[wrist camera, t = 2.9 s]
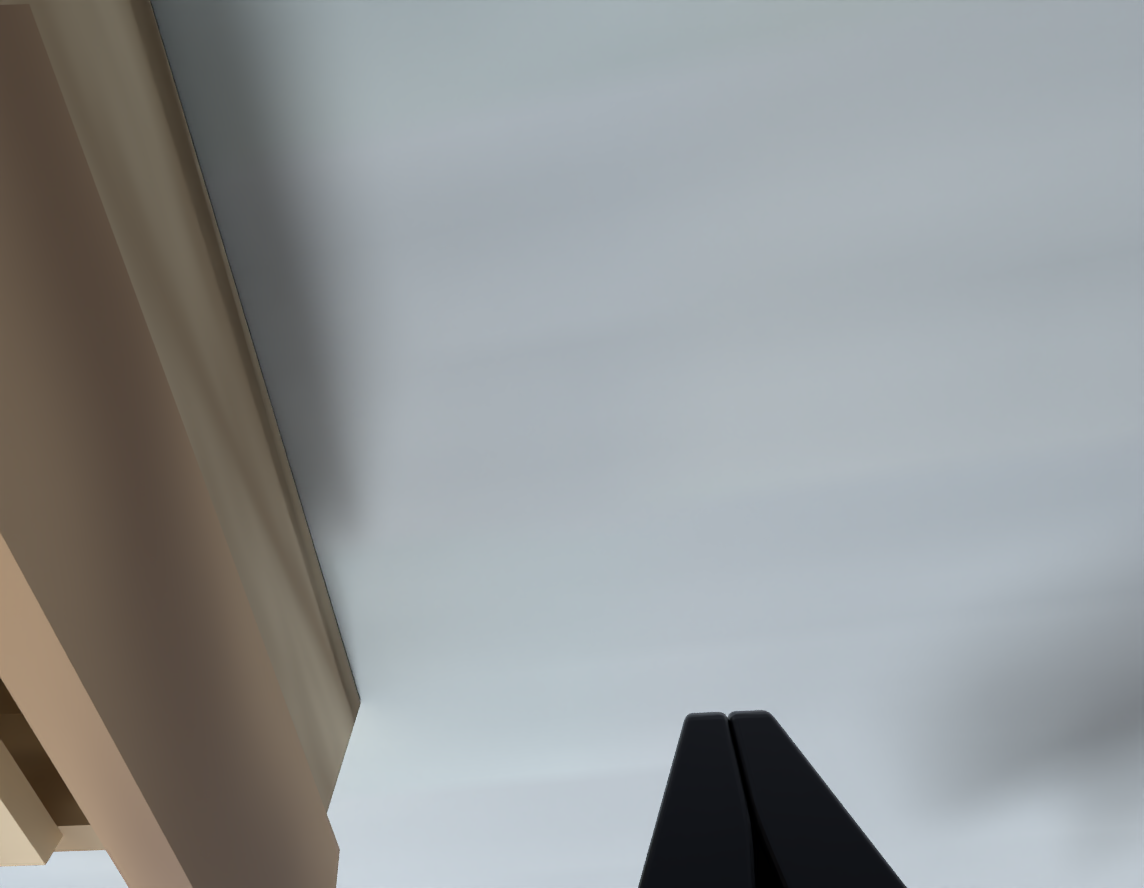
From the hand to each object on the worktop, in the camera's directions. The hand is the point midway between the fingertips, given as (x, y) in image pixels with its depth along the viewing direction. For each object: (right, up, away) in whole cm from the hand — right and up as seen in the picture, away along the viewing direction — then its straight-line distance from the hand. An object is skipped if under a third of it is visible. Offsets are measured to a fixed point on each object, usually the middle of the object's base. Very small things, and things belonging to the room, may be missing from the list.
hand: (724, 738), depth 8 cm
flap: (-7, 0, +2) cm, 7 cm away
